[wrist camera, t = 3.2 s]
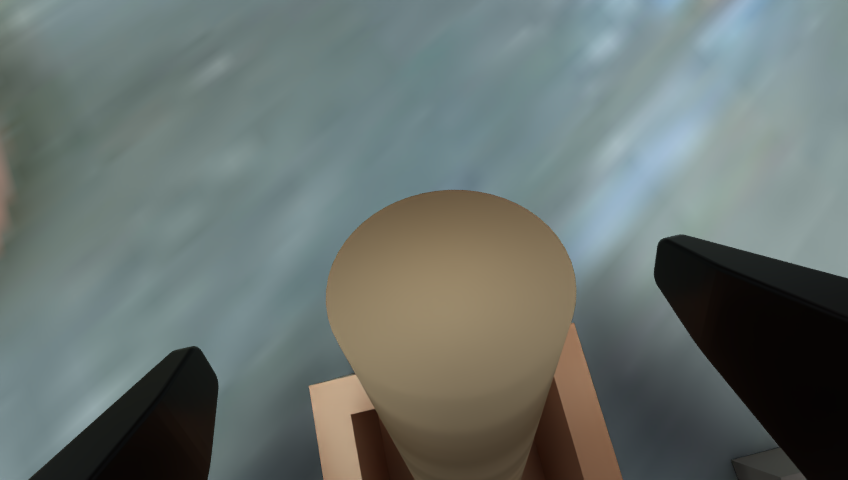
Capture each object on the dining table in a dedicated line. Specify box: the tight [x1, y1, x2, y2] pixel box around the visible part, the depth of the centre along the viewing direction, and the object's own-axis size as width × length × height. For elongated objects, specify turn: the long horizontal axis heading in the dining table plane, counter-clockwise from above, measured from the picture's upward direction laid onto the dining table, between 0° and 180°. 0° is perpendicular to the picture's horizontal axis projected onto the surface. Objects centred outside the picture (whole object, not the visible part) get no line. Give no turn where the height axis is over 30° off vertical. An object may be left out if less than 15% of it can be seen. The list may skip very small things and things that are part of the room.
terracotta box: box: [309, 323, 623, 480], centre depth 12 cm, size 6×6×5 cm
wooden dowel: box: [326, 190, 576, 480], centre depth 8 cm, size 6×2×11 cm, turn 13°
